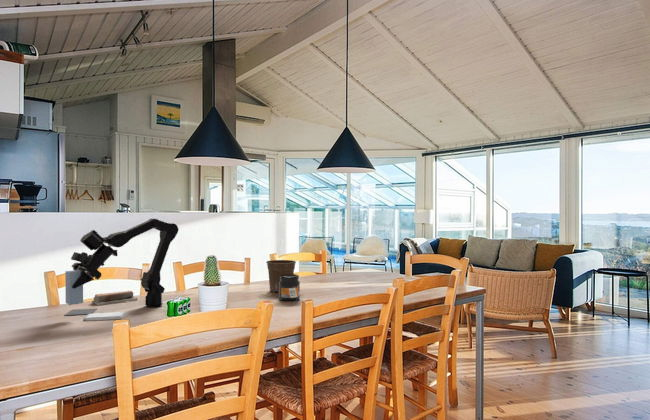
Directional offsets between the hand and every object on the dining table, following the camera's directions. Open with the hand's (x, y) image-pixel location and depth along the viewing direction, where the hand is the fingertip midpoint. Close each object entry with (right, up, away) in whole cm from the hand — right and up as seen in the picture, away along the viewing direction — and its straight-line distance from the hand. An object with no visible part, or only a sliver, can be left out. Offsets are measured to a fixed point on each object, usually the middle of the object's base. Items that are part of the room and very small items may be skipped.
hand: (70, 287), depth 180 cm
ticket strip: (+12, -13, +4) cm, 18 cm away
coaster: (-3, -13, +13) cm, 18 cm away
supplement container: (+85, -13, +41) cm, 95 cm away
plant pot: (+79, -13, +64) cm, 102 cm away
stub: (+1, -7, +1) cm, 7 cm away
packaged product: (+1, -14, +36) cm, 38 cm away
